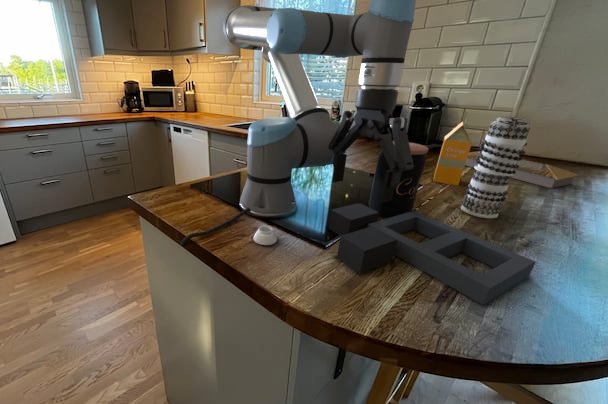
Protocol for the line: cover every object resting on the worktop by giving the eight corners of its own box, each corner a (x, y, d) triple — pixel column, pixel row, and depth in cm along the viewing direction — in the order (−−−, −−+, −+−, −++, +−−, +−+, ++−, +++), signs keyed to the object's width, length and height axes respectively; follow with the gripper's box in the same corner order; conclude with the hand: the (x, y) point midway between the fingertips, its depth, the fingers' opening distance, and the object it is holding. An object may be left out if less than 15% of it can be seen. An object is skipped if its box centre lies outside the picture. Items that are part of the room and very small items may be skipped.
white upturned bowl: (278, 237, 66) (256, 233, 68) (279, 225, 65) (257, 221, 67) (273, 248, 62) (250, 244, 63) (274, 236, 61) (251, 232, 62)
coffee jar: (392, 223, 74) (409, 152, 66) (359, 207, 82) (371, 143, 75) (419, 215, 78) (438, 148, 71) (385, 201, 87) (399, 139, 80)
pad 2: (359, 274, 55) (364, 250, 53) (336, 257, 59) (340, 235, 57) (392, 261, 59) (397, 239, 57) (367, 246, 63) (372, 226, 61)
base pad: (483, 305, 48) (490, 288, 46) (365, 237, 67) (367, 223, 66) (528, 277, 55) (536, 261, 53) (410, 223, 74) (413, 210, 73)
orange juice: (458, 178, 108) (476, 122, 100) (458, 185, 101) (478, 125, 93) (433, 174, 111) (449, 120, 103) (432, 181, 105) (448, 123, 97)
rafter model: (451, 162, 129) (456, 148, 126) (473, 159, 134) (477, 146, 132) (553, 189, 99) (561, 171, 97) (575, 184, 105) (583, 167, 102)
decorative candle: (459, 202, 87) (488, 114, 77) (498, 210, 83) (535, 117, 73) (458, 212, 81) (489, 117, 71) (501, 222, 76) (541, 121, 66)
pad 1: (347, 240, 66) (350, 220, 64) (328, 228, 71) (331, 209, 69) (375, 231, 70) (379, 212, 68) (355, 221, 75) (358, 202, 73)
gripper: (319, 85, 66) (310, 176, 74) (427, 91, 46) (398, 215, 54) (344, 85, 69) (332, 172, 78) (455, 91, 49) (423, 207, 58)
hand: (359, 190), depth 66 cm, fingers open, 13 cm apart
